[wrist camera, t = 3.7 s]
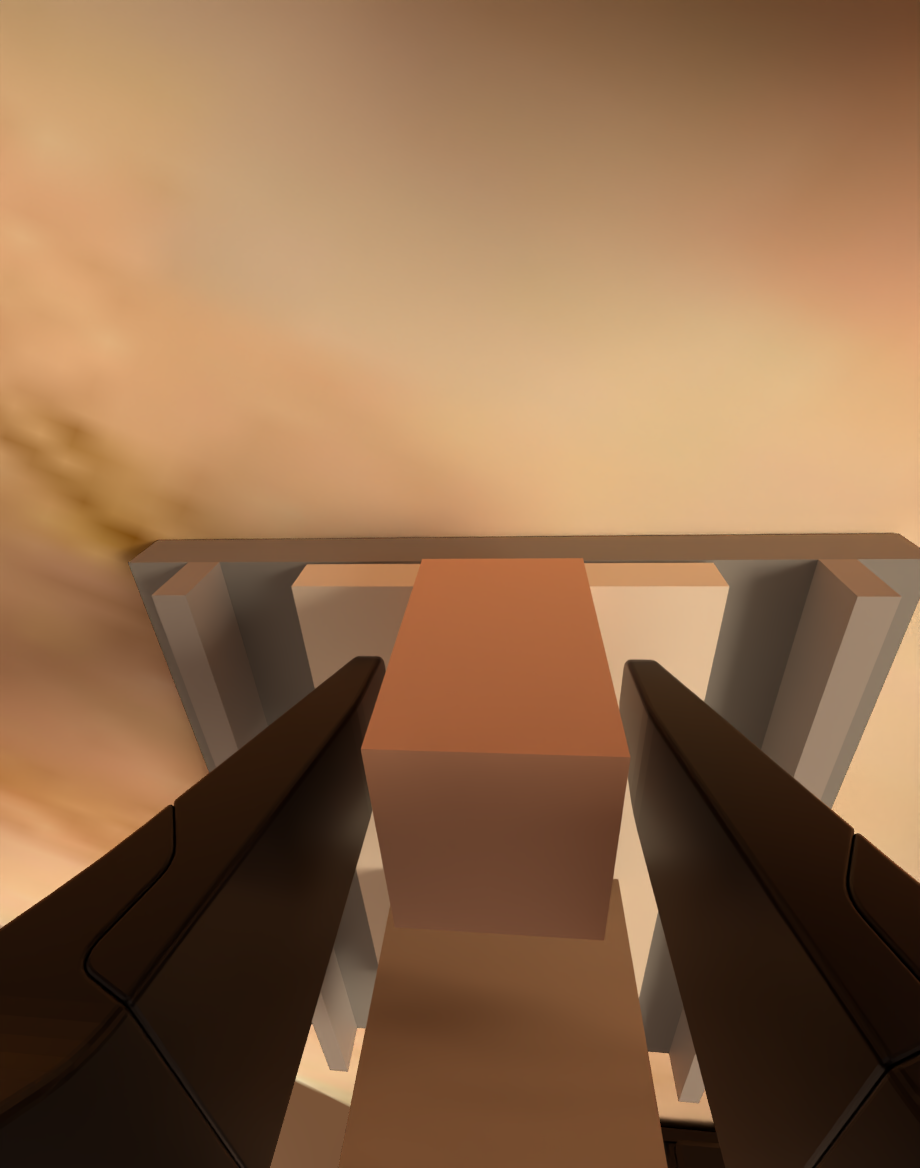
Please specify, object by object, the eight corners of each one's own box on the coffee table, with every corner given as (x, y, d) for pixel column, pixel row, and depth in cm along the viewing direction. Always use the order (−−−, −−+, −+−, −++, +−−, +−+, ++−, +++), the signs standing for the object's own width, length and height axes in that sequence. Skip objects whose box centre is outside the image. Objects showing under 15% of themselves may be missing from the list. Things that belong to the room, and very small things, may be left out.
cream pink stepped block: (628, 990, 16) (668, 1242, 12) (392, 973, 17) (351, 1206, 13) (718, 535, 9) (896, 765, 5) (301, 538, 10) (139, 742, 5)
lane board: (716, 1021, 19) (739, 1107, 17) (315, 990, 20) (294, 1066, 18) (898, 533, 10) (992, 597, 8) (158, 540, 11) (84, 595, 9)
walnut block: (601, 993, 15) (637, 1294, 10) (416, 979, 15) (377, 1262, 11) (618, 879, 12) (675, 1212, 8) (397, 867, 13) (336, 1174, 8)
